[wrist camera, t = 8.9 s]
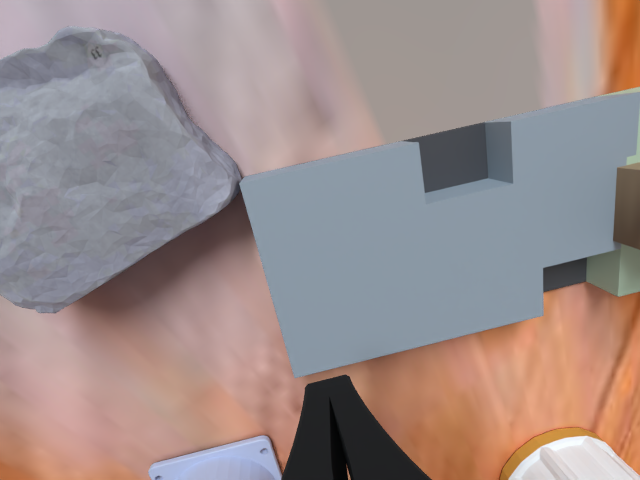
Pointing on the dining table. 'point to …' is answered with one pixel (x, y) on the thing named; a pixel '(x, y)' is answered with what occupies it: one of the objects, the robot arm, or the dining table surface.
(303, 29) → the dining table surface
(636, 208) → the walnut cube
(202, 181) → the stone block
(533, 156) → the board
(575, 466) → the cup
